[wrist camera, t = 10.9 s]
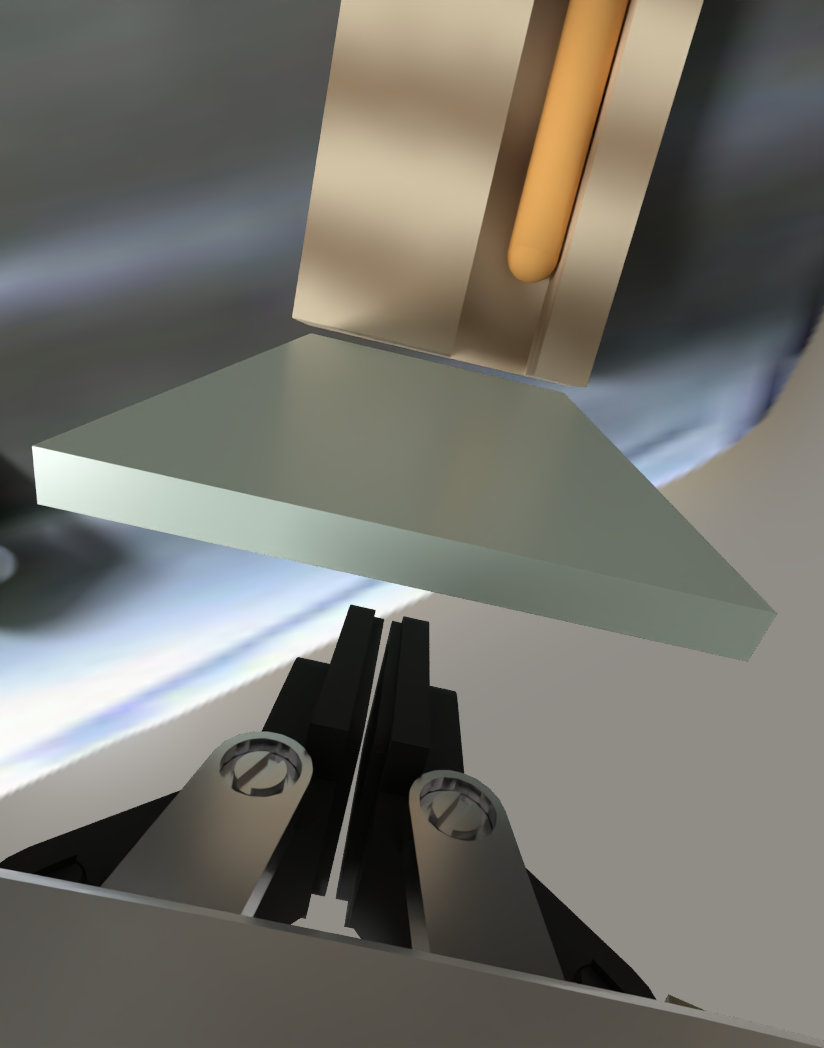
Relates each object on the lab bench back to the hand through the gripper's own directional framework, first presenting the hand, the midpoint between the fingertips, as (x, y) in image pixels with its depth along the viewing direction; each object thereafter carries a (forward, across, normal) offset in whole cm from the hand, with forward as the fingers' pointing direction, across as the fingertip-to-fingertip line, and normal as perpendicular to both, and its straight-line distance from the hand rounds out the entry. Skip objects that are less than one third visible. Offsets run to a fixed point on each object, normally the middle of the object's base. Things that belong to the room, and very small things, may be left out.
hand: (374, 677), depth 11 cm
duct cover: (+7, 0, -5) cm, 9 cm away
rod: (+19, -3, -19) cm, 27 cm away
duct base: (+20, 0, -17) cm, 26 cm away
